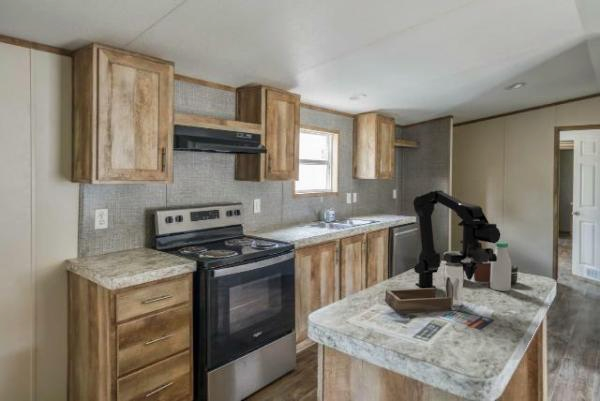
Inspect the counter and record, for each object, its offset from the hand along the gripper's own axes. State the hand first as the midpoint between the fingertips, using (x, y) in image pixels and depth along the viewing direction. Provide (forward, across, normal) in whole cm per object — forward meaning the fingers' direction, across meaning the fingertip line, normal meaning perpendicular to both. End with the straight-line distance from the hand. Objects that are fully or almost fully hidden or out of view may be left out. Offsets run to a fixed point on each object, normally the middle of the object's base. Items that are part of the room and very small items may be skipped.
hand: (469, 279), depth 142 cm
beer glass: (+9, -6, 0) cm, 11 cm away
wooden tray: (+9, -21, 0) cm, 23 cm away
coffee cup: (+9, +23, +25) cm, 35 cm away
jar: (+9, +33, +23) cm, 41 cm away
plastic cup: (+9, +14, +31) cm, 35 cm away
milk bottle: (+9, +24, +14) cm, 29 cm away
